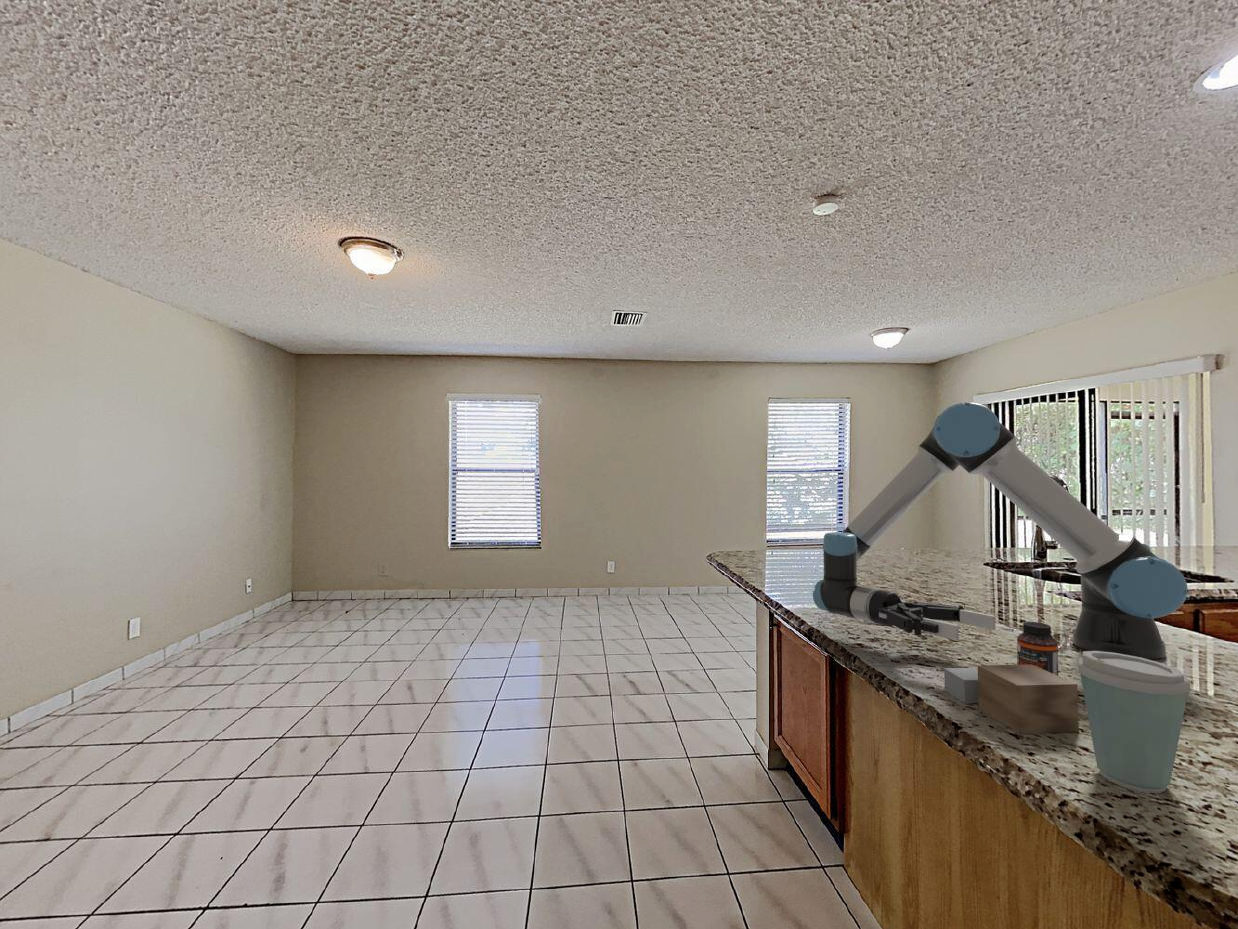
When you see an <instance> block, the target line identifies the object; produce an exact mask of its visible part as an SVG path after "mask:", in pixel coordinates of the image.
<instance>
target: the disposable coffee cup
mask: <svg viewBox="0 0 1238 929" xmlns="http://www.w3.org/2000/svg"><path fill="white" fill-rule="evenodd" d="M1076 673H1079V675H1080V679H1081V680H1080V681H1081V685H1082V692H1083V696H1084V697H1083V698H1084V703H1085V706H1086V707H1085V708H1086V712H1087V718H1088V723H1089V724H1088V725H1089V730H1090V735H1091V741H1092V746H1093V751H1094V756H1095V763H1096V767H1097V768H1098V770H1099V774H1100V776H1102V777H1104V778H1105V779H1106V780H1107V781H1108V782H1111V783H1113V784H1116V785H1117V786H1120V787H1123V788H1125V789H1128V790H1131V789H1132V791H1135V790H1136V792H1140V793H1143V792H1144V794H1145V792H1146V793H1147V794H1157V793H1158V794H1160V793H1163V792H1166V791H1167V788H1168V786H1170V785H1171V779H1172V774H1173V771H1174V764H1175V760H1176V756H1177V750H1178V745H1179V740H1180V735H1181V731H1182V726H1183V721H1184V716H1185V709H1186V705H1187V700H1188V696H1189V693H1190V692H1192V689H1191V683H1190V681H1189V678H1188V677H1187V676H1186V675H1185V674H1184V673H1183V672H1182V671H1181V670H1180V669H1177V668H1176V667H1173V666H1170V665H1168V664H1166V663H1163V662H1159V661H1155V660H1153V659H1145V658H1141V657H1136V656H1130V655H1124V654H1119V653H1112V652H1102V651H1089V650H1086V651H1085V650H1084V651H1082V657H1079V658H1078V659H1077V665H1076Z"/></svg>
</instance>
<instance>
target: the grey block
mask: <svg viewBox="0 0 1238 929" xmlns="http://www.w3.org/2000/svg"><path fill="white" fill-rule="evenodd" d="M943 674H944V677H943V678H944V690H945V691H946V692H947V693H949V694H951V696H953V697H955V698H957V700H960V701H961V702H963V703H964V704H979V699H978V667H946V668H945V667H944V669H943Z"/></svg>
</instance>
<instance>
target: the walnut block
mask: <svg viewBox="0 0 1238 929" xmlns="http://www.w3.org/2000/svg"><path fill="white" fill-rule="evenodd" d="M977 668H978V699H979V703H978V710H980V711H981V712H983V713H985V714H986V715H988V716H990V717H992V719H995V720H996V721H998V722H1000V724H1003V725H1004V726H1006V727H1008V728H1009V729H1012V730H1013V731H1014V732H1016V733H1018V734H1021V735H1022V734H1054V733H1055V734H1056V733H1059V734H1060V733H1062V734H1064V733H1080V722H1079V719H1080V718H1079V717H1080V716H1079V693H1078V692H1079V691H1078V690H1079V689H1078V686H1079V685H1078V684H1077V683H1075V682H1074V681H1071V680H1069V679H1067V678H1064V677H1062V676H1059V675H1058V676H1057V675H1055V674H1053V673H1050V672H1048V671H1046V670H1043V669H1041V668H1039V667H1036V666H1034V665H1032V664H1029V665H1017V664H993V665H992V664H989V665H987V664H986V665H984V664H983V665H977Z"/></svg>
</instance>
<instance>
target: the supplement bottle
mask: <svg viewBox="0 0 1238 929" xmlns="http://www.w3.org/2000/svg"><path fill="white" fill-rule="evenodd" d="M1022 625H1023V626H1022V627H1023V628H1022V630H1023V631H1022V633H1020V634H1018V635H1017V638H1016V641H1017V642H1016V649H1017V651H1016V654H1017V655H1016V657H1017V659H1016V660H1017V664H1016V665H1029V664H1032V665H1034V666H1036V667H1039V668H1041V669H1043V670H1046V671H1048V672H1050V673H1053V674H1055V675H1057V676H1059V645H1058V644H1059V642H1058V641H1057V639H1056V638H1054V637H1053V636H1052V635H1051V634H1052V626H1051V625H1050V624H1047V623H1043V622H1036V621H1025V622H1023V624H1022Z"/></svg>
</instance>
